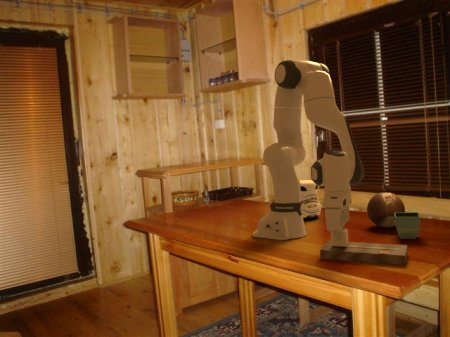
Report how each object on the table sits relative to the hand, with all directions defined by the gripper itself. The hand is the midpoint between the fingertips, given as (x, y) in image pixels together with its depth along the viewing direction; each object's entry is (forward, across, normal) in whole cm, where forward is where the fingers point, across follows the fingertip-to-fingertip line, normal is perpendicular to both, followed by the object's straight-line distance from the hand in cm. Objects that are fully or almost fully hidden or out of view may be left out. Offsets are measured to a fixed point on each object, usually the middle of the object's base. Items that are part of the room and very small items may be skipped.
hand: (339, 238), depth 139 cm
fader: (+2, 0, 0) cm, 2 cm away
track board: (+6, 0, +8) cm, 10 cm away
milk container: (+6, -58, -29) cm, 65 cm away
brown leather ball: (+6, -44, +11) cm, 46 cm away
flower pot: (+6, -28, +20) cm, 35 cm away
